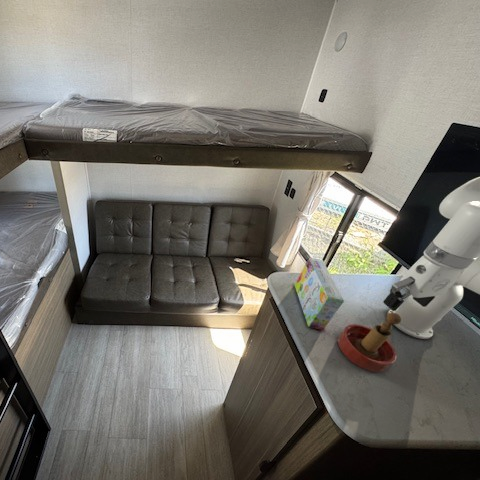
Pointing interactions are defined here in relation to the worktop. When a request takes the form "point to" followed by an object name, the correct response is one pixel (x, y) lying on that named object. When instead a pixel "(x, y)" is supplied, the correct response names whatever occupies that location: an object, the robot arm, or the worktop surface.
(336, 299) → the snack box
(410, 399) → the worktop surface
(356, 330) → the bowl
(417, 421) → the worktop surface
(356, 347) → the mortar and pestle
